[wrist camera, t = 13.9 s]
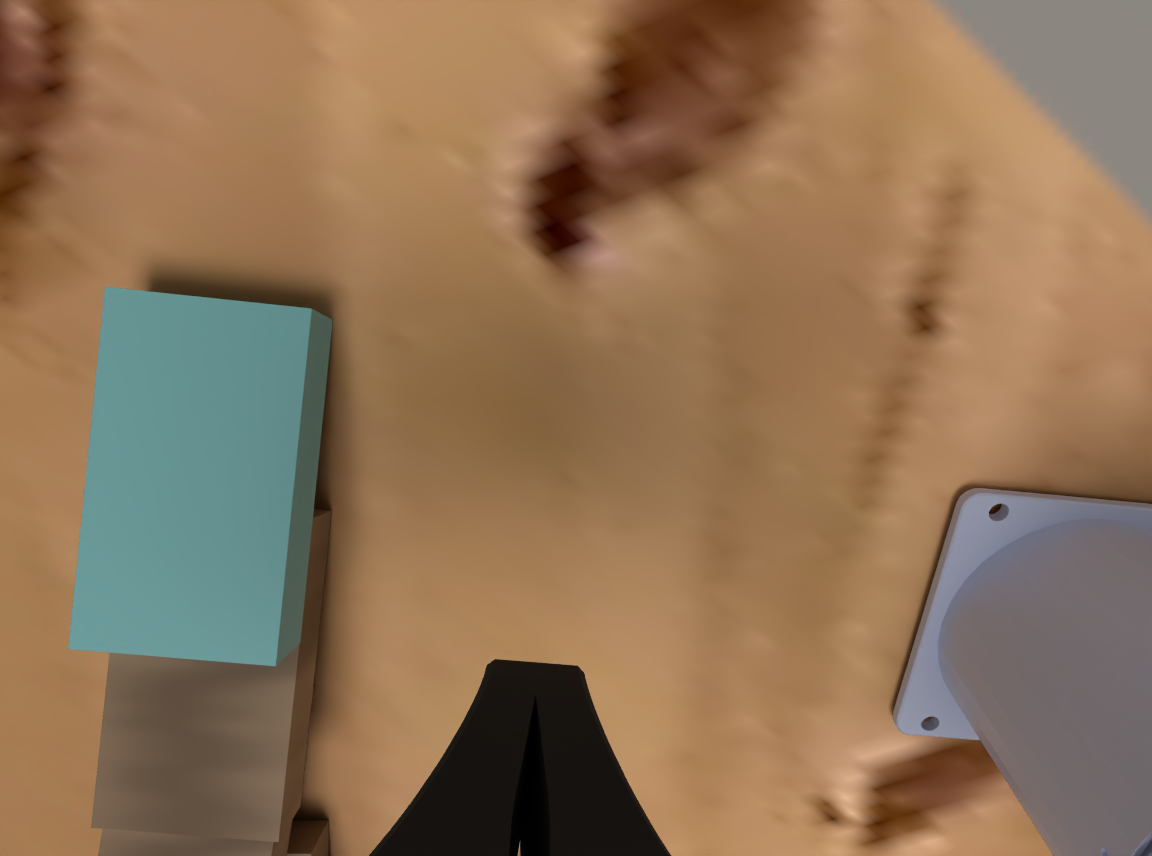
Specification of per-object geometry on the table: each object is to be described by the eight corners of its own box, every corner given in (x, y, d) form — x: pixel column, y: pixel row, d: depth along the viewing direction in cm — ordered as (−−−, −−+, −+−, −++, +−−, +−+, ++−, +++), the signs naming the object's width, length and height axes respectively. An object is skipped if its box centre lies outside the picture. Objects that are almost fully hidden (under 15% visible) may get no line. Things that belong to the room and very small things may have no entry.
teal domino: (311, 308, 19) (275, 666, 19) (332, 319, 21) (300, 643, 21) (104, 287, 19) (68, 648, 19) (146, 300, 21) (113, 627, 21)
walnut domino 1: (312, 518, 21) (278, 842, 21) (331, 510, 23) (300, 805, 23) (125, 500, 21) (91, 827, 21) (161, 493, 23) (129, 792, 23)
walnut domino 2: (295, 709, 23) (247, 1000, 23) (314, 685, 25) (270, 952, 25) (126, 684, 23) (78, 978, 23) (159, 661, 25) (115, 932, 25)
